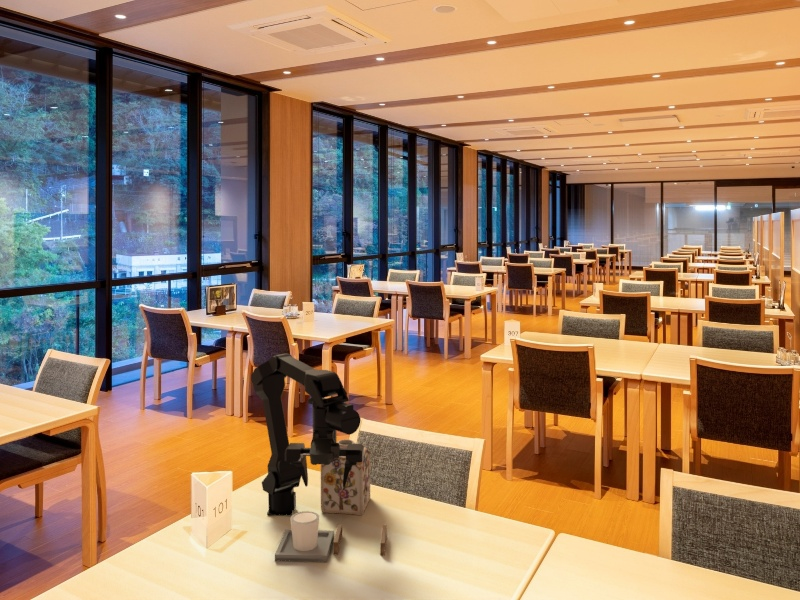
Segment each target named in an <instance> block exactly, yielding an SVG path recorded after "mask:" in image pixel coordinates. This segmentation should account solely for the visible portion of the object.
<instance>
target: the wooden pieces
mask: <svg viewBox="0 0 800 600" xmlns="http://www.w3.org/2000/svg"><path fill="white" fill-rule="evenodd" d="M387 526H388V525H387V524H383V525H382V526H381V527H382V528H381V535H380V544H379V545H380V551H379V553H380V554H379V555H380V556H385V555H386V545H387V538H388V537H387V536H388V534H387V533H388V531H387V529H388V527H387ZM342 539H343V524H341V523H340V524H339V523H338V524H337V527H336V531H335V533H334V538H333V542H332V546H333V551H332V552H333V555H339V551H340V546H341V543H342Z"/></svg>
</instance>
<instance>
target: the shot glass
mask: <svg viewBox="0 0 800 600" xmlns="http://www.w3.org/2000/svg"><path fill="white" fill-rule="evenodd" d="M319 524H320V515H319V513H317V512H314V511H309V510H306V511H305V510H304V511H299V512H296V513H294V514H293V513H292V515H290V527H291V529H290V530H292V538H293V547H294V548H295V549H296V550H299V551H309V550H312V549H314V548H315V547H316V546H317V539H318V530H319Z"/></svg>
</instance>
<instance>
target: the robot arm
mask: <svg viewBox="0 0 800 600" xmlns="http://www.w3.org/2000/svg"><path fill="white" fill-rule="evenodd" d="M287 377H288V378H290V379H292V380H294V381H295V382H297V383H299V384H300V385H302V386H303V388H304V392H305V393H306V394H307V395H309V396H310V398H308V400H307V404H309V405H311V406H312V410H311V411H312V439H311V442H310V447H305V445H306V444H305V442H290V440H289V436H288V430H287V429H288V428H287V424H286V418H285V413H284V412H285V411H284V405H283V400H282V396H283V393H284V390H285V387H286V381H285V380H286V378H287ZM250 380H251V383H252V386H253V391H254V392H255V393H256V395H257V396H258V397H259V398H260V399H261V400H262V404H263V410H264V411H263V412H264V416H265V417H264V418H265V423H266V429H267V434H268V435H267V436H268V440H269V446H270V452H271V455H270V457H269V461H268V463H267V475H266V476H265V478H264V479H263V480H262V481H261V486H262V491H263V492H266V493H267V494H268V497H267V498H268V510H267V512H266V515H267V516H292V515H293V513H294V511H295V510H296V508H297V492H296V491H294V490H295V488H298V487H299V486H300V482H301V479H302V481H303V484H304V486H305V488H306V487H308V483H309V474H308V463H307V457H309V461H310V462H309V463H310V465H312V466H317V465H321V464H324V465H329V464H330V463H331V459H335V458H339V456H346V461H345V468H344V477H343V487H345V484H346V481H347V478H348V474H349V472H350V470H351V468H352V466H353V465H357V463H358V462H362V461H363V457H364V447H365V446H364V445H363V443H358V444H348V446H347V448H340V445H339V443H337V442H338V441H337V432H340V433H342V434H345V435H353V434H354V433H355V432H357V431H358V429H359V427H360V424H361V417H360V414H359V412H358V411H357V410H355V409H354V404H352V403H347V402H349V401H350V400H349V397H348V393H347V391H346V389H345V387H344V385H343V383H342V381H341V378H340V377H339V375H338V374H337V373H336V372H335V371H331V370H327V369H316V368H314V367H312V366H310V365H308V364H306V363H305V362H302V361H301V360H298V359H296V358H295V357H293V356H292V355H291V354H290V353H280V354H274V355H273V356H271V357H270V358H269V359H268V360H266V361H265V362H263V363H262V364H260V365H258V366H257V367H255V368H254V370H253V372H251V374H250ZM331 396H332V397H331Z"/></svg>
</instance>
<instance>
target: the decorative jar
mask: <svg viewBox="0 0 800 600" xmlns="http://www.w3.org/2000/svg"><path fill="white" fill-rule="evenodd" d="M337 443H339V445H340V448H347V446H348V444H359V443H356V442H355V441H354V440H351V439H339V440H338V441H337ZM370 459H371V452H370V451H369V450H368V448H366V446H364V457H363V461H362V462H358V463H357V465H353V466H352V468H351V470H350V472H349V474H348V478H347V481H346V484H345V487H343V477H344V468H345V461H346V456H339V458H335V459H331V463H330V464H329V465H324V464H320V510H321V511H320V512H321V513H323V514H340V515H341V514H342V515H357V516H363V515H364V512H365V510H366V508H367V506H368V504H369V501H370V499H371V460H370Z"/></svg>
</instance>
